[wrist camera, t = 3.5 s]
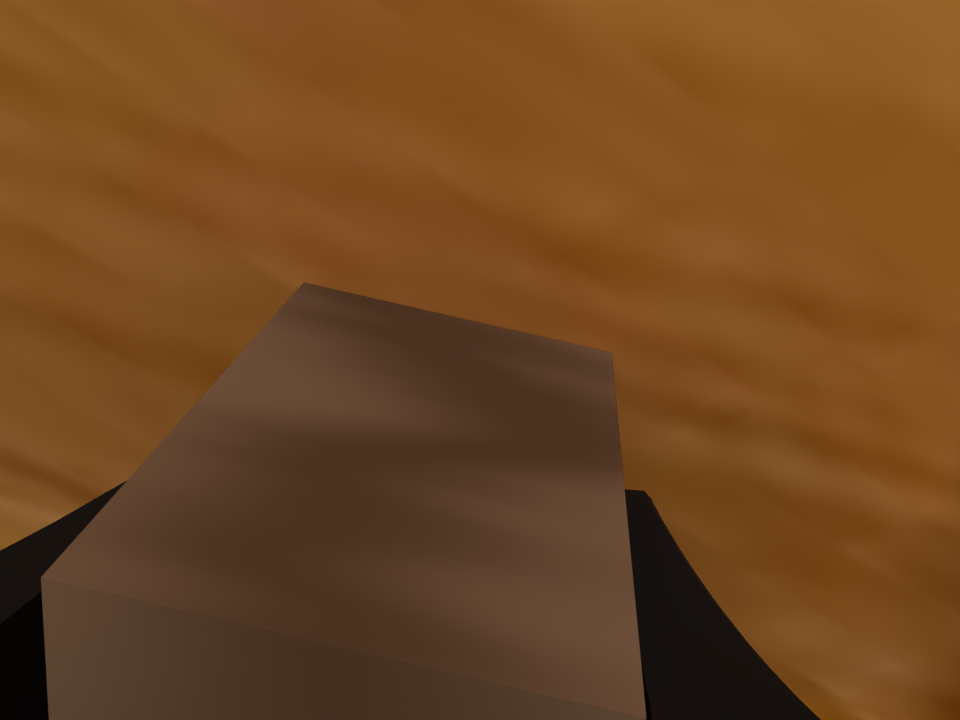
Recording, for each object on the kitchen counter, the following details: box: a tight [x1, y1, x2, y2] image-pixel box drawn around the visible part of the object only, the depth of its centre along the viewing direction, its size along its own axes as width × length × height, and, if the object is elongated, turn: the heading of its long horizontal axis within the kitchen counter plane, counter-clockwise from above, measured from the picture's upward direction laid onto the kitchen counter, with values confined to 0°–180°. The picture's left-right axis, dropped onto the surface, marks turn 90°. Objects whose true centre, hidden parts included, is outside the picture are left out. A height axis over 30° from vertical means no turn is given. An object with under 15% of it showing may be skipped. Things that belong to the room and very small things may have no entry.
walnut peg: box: [41, 283, 646, 720], centre depth 11 cm, size 5×5×7 cm
